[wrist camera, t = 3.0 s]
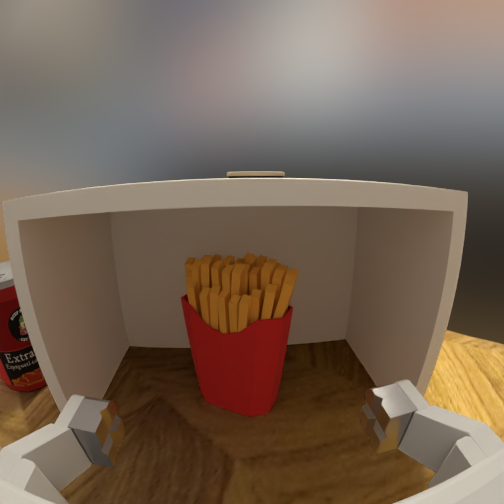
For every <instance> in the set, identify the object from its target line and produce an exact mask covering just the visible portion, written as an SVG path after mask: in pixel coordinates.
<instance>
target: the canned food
mask: <svg viewBox="0 0 504 504" xmlns="http://www.w3.org/2000/svg"><path fill="white" fill-rule="evenodd" d="M0 377H1V378H2V380H3V381H4V382H5V383H6V385H7V386H8V387H10V388H11V389H13V390H16V391H25V392H27V391H33V390H37V389H39V388H42V387H44V386H45V385H47V383H46V380H45V378H44V376H43V373H42V371H41V368H40V366H39V363H38V361H37V358H36V355H35V352H34V350H33V347H32V344H31V341H30V338H29V335H28V332H27V329H26V326H25V322H24V319H23V315H22V312H21V308H20V305H19V301H18V297H17V293H16V288H15V284H14V280H13V275H12V270H11V265H10V261H8V262H3V263H0Z"/></svg>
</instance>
